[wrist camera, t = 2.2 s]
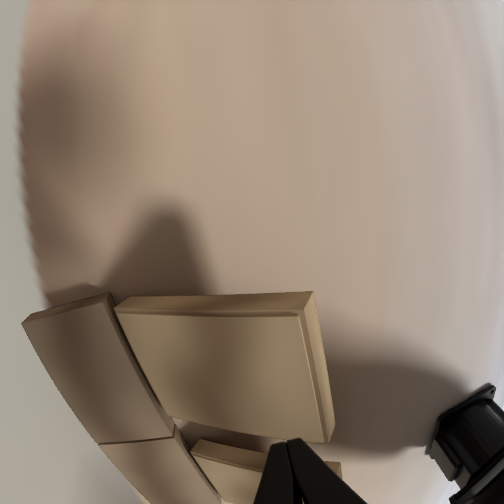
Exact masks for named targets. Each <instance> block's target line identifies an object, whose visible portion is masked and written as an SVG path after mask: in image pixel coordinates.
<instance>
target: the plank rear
mask: <svg viewBox="0 0 504 504" xmlns="http://www.w3.org/2000/svg"><path fill="white" fill-rule="evenodd" d="M190 452H191V454H192V455H193V457H194V458H195V460H196V461H197V463H198V464H199V466H200V467H201V469H202V470H203V472H204V473H205V475H206V476H207V477H208V479H209V480H210V482H211V483H212V484H213V486H214V487H215V489H216V490H217V491H218V493H219V494H220V495H221V497H222V498H223V499H224V500H225V501H227V502H230V503H234V504H253V502H254V499H255V496H256V493H257V489H258V486H259V483H260V480H261V476H262V473H263V470H264V466H265V463H266V459H267V456H268V454H267V453H261V452H256V451H251V450H246V449H241V448H236V447H231V446H227V445H222V444H218V443H214V442H210V441H206V440H202V439H199V440H198V441H197V443H196V444H195V446H194V447H193V448H192V450H191V451H190ZM324 462H325V463H326V464H327V465H328V466H329V467H330V468H331V469H332V470H333V471H334V472H335V473H336V474H337V475H338V476H339V477H340V478H341V479H342V472H341V464H340V462H329V461H324ZM302 500H303V499H302ZM303 504H304V502H303Z"/></svg>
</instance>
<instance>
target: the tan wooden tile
mask: <svg viewBox="0 0 504 504" xmlns="http://www.w3.org/2000/svg"><path fill="white" fill-rule="evenodd" d="M114 307H116V306H115V304H114V301H113V299H112V296H111V294H110V292H109V293H106V294H102V295H98V296H95V297H91V298H87V299H84V300H80V301H76V302H73V303H69V304H65V305H62V306H58V307H54V308H51V309H47V310H43V311H40V312H36V313H32V314H30V315H29V316H28V317H27V318H26V319H25V320H24V321H23V322H22V323H21V324H22V326H23V328H24V330H25V332H26V334H27V336H28V338H29V340H30V342H31V343H32V345H33V347H34V349H35V351H36V353H37V355H38V356H39V358H40V360H41V362H42V363H43V365H44V367H45V369H46V370H47V372H48V374H49V375H50V377H51V379H52V380H53V381H54V383H55V385H56V387H57V388H58V390H59V391H60V393H61V394H62V396H63V398H64V399H65V401H66V402H67V403H68V405H69V407H70V408H71V409H72V411H73V412H74V414H75V415H76V417H77V418H78V419H79V421H80V422H81V423H82V425H83V426H84V427H85V429H86V430H87V432H88V433H89V434H90V436H91V437H92V438H93V439H94V441H95V442H96V443H98V446H99V447H100V448H101V450H102V451H103V452H104V453H105V454H106V456H107V457H108V458H109V459H110V460H111V462H112V463H113V464H114V465H115V466H116V467H117V469H118V470H119V471H120V472H121V473H122V474H123V475H124V476H125V477H126V479H127V480H128V481H129V482H130V483H131V484H132V485H133V486H134V487H135V488H136V489H137V490H138V491H139V492H140V493H141V494H142V495H143V496H144V497H145V498H146V499H147V500H148V501H149V502H150V503H151V504H221V495H220V494H219V493H218V491H217V490H216V489H215V487H214V486H213V484H212V483H211V482H210V480H209V479H208V477H207V476H206V475H205V473H204V472H203V470H202V469H201V467H200V466H199V464H198V463H197V461H196V460H195V458H194V457H193V455H192V454H191V452H190V451H191V449H190V447H189V446H188V444H187V442H186V441H185V439H184V438H183V436H182V434H181V433H180V431H179V429H178V428H177V426H176V425H174V421H173V419H172V418H171V416H168V415H167V413H166V412H165V410H164V408H163V406H162V405H161V403H160V401H159V399H158V398H157V396H156V394H155V392H154V390H153V389H152V387H151V385H150V383H149V381H148V379H147V377H146V375H145V373H144V372H143V370H142V368H141V366H140V364H139V362H138V360H137V358H136V356H135V354H134V352H133V350H132V348H131V345H130V343H129V341H128V339H127V337H126V335H125V333H124V331H123V328H122V326H121V324H120V322H119V319H118V317H117V315H116V313H115V310H114Z"/></svg>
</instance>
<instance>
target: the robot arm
mask: <svg viewBox="0 0 504 504" xmlns="http://www.w3.org/2000/svg"><path fill="white" fill-rule="evenodd" d="M495 391H496V387H495V386H494V385H491V386H489V387H488V388H486V389H485V390H483V391H482V392H480V393H478V394H477V395H475V396H474V397H472V398H470V399H469V400H467V401H465V402H464V403H462V404H460V405H458V406H457V407H455V408H453V409H451V410H449V411H448V412H446V413H444V414H442V415H441V416H440V417H439V418H438V420H437V425H436V430H435V434H434V439H433V443H432V447H431V451H430V455H429V456H430V457H431V459H435V461H436V462H437V464H438V465H439V467H440V469H441V470H442V472H443V473H444V475H445V476H446V478H447V479H448V481H451V482H452V481H453V480H455V481H456V483H457V484H458V486H459V487H460V489H461V490H460V491H458V492H457V493H456V494H454V495H452V496H451V497H450V498H449V501H450V503H451V504H504V411H503V410H502V409H501V408H500V407H499V406H498V405H497V404H496V403H495V402H494V401H493V398H494V394H495ZM302 499H303V500H302ZM303 502H304V504H367V503H366V502H365V501H364V500H363V499H362V498H361V497H360V496H359V495H358V494H356V493H355V492H354V491H353V490H352V489H351V488H350V487H349V486H348V485H347V484H346V483H345V482H344V481H343V480H342V479H341V478H340V477H339V476H338V475H337V474H336V473H335V472H334V471H333V470H332V469H331V468H330V467H329V466H328V465H327V464H326V463H325V462H324V461H323V460H322V459H321V458H320V457H319V456H318V455H317V454H316V453H315V452H314V451H313V450H312V449H311V448H310V447H309V446H308V445H307V444H306V442H305V441H304V440H303V439H302V438H299V437H298V438H294V439H291V440H288V441H287V442H279V443H275V444H272V445H271V446H270V449H269V452H268V456H267V459H266V463H265V466H264V470H263V473H262V476H261V480H260V483H259V486H258V489H257V493H256V496H255V499H254V502H253V504H303Z"/></svg>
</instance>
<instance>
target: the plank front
mask: <svg viewBox="0 0 504 504" xmlns="http://www.w3.org/2000/svg"><path fill="white" fill-rule="evenodd" d="M114 310H115V313H116V315H117V317H118V319H119V322H120V324H121V326H122V328H123V331H124V333H125V335H126V337H127V339H128V341H129V343H130V345H131V348H132V350H133V352H134V354H135V356H136V358H137V360H138V362H139V364H140V366H141V368H142V370H143V372H144V373H145V375H146V377H147V379H148V381H149V383H150V385H151V387H152V389H153V390H154V392H155V394H156V396H157V398H158V399H159V401H160V403H161V405H162V406H163V408H164V410H165V412H166V413H167V415H168V416H171V417H175V418H179V419H182V420H186V421H190V422H194V423H198V424H202V425H207V426H211V427H216V428H220V429H225V430H230V431H235V432H240V433H246V434H251V435H257V436H264V437H270V438H277V439H284V440H291V439H294V438H298V437H299V438H302V439H303V440H304V441H305V442H310V443H321V444H329V443H330V440H331V436H332V433H333V430H334V427H335V418H334V411H333V404H332V398H331V391H330V385H329V378H328V372H327V366H326V360H325V354H324V348H323V342H322V336H321V331H320V325H319V320H318V314H317V309H316V304H315V298H314V293H313V291H306V292H286V293H264V294H237V295H202V296H130V297H128V298H127V299H126V300H124V301H123V302H121V303H120V304H119V305H117V306H116V307H114Z"/></svg>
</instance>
